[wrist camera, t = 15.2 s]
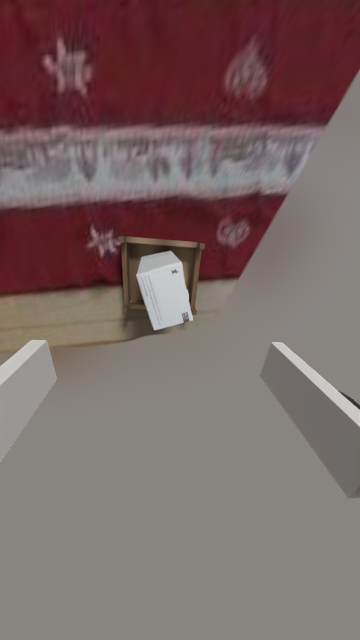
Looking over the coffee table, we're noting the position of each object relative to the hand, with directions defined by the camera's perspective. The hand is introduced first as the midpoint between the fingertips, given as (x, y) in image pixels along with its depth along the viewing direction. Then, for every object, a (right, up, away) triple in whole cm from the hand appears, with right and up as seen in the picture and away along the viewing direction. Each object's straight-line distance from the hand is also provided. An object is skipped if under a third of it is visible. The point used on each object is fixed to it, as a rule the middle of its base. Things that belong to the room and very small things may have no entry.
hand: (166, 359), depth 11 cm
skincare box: (-3, +11, +25) cm, 28 cm away
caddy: (-3, +12, +26) cm, 29 cm away
